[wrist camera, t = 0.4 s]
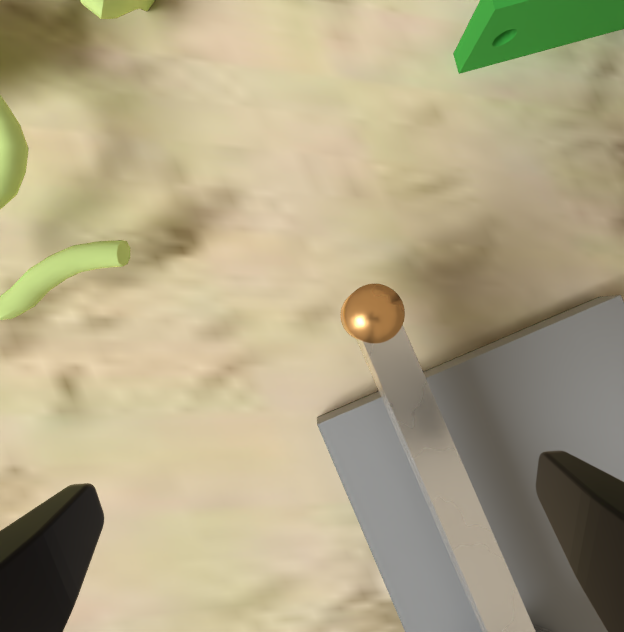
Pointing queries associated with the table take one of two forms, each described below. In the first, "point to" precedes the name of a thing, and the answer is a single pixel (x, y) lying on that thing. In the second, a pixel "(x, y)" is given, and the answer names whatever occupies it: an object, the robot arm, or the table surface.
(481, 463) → the base board
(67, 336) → the table surface
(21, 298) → the figurine
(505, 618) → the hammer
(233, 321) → the table surface
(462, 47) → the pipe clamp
